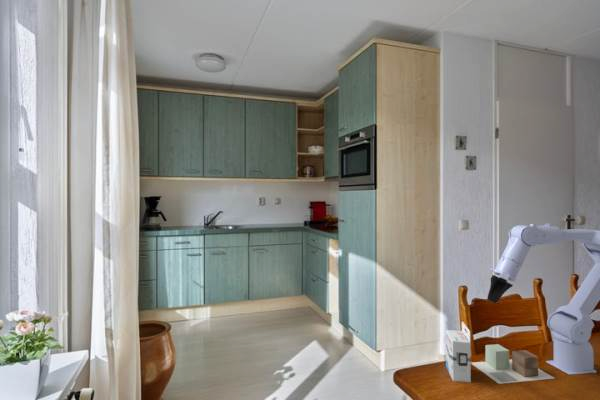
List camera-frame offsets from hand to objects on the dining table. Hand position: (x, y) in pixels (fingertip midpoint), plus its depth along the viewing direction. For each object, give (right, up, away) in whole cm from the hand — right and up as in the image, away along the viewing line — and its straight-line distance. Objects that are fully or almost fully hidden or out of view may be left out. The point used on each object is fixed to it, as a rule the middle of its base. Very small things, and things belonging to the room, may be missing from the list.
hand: (491, 301), depth 100 cm
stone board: (+5, -21, -1) cm, 21 cm away
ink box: (-12, -21, -3) cm, 24 cm away
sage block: (+3, -20, +1) cm, 21 cm away
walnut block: (+8, -20, -3) cm, 22 cm away
